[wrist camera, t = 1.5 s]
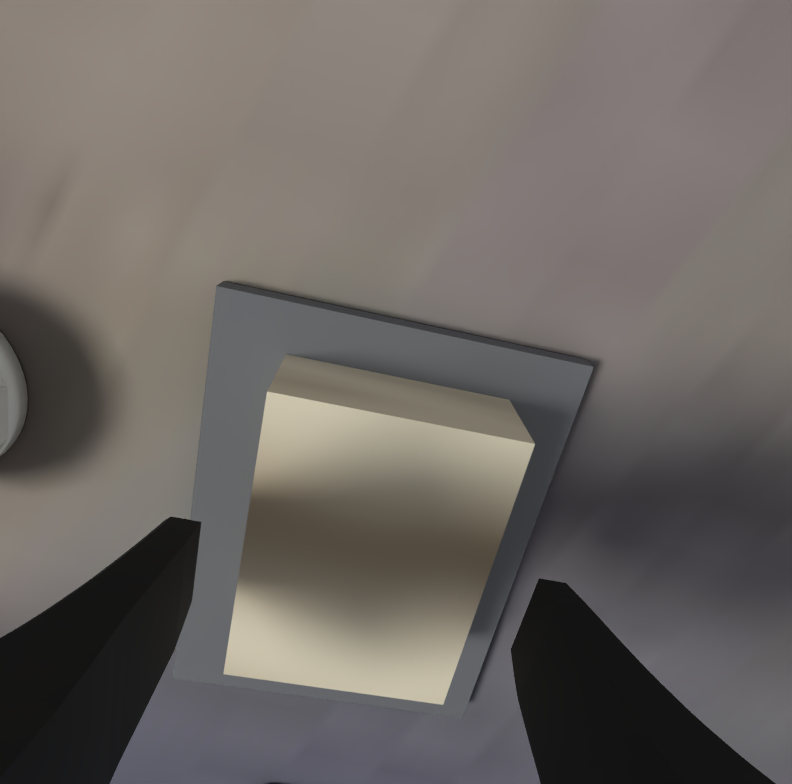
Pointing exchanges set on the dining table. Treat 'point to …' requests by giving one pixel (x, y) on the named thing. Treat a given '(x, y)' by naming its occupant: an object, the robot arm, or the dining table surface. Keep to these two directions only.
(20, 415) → the bowl
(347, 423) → the block
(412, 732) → the dining table surface
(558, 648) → the robot arm
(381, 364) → the mat
